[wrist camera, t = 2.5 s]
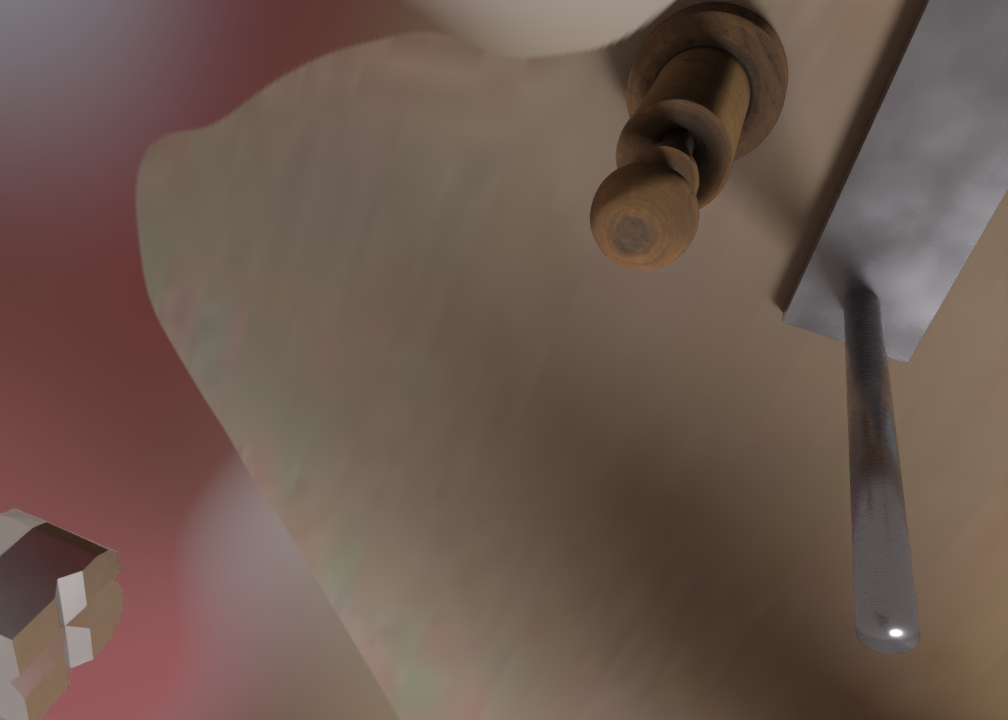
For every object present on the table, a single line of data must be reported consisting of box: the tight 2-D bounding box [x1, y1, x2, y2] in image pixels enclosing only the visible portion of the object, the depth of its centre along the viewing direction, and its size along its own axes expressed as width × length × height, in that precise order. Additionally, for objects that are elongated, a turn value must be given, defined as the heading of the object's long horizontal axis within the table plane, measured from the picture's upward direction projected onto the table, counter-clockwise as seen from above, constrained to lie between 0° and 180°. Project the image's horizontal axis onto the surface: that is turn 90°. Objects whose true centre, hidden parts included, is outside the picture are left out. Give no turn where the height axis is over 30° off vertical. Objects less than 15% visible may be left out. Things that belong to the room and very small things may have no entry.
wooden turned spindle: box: [590, 2, 788, 270], centre depth 30 cm, size 7×6×18 cm
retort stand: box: [782, 0, 1008, 654], centre depth 28 cm, size 6×19×21 cm, turn 169°
